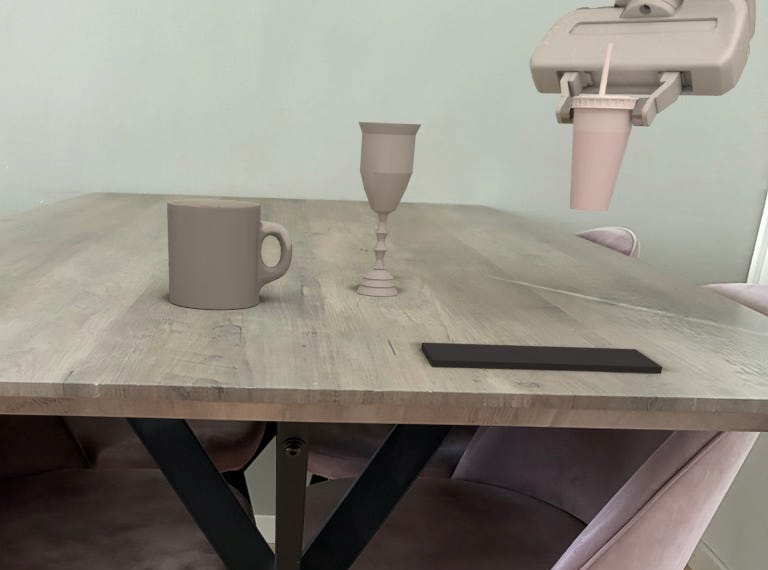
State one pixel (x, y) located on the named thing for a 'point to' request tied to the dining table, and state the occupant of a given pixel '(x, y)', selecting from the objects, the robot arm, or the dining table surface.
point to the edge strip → (539, 358)
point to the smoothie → (598, 144)
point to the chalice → (385, 188)
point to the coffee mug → (220, 253)
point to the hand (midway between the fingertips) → (601, 119)
